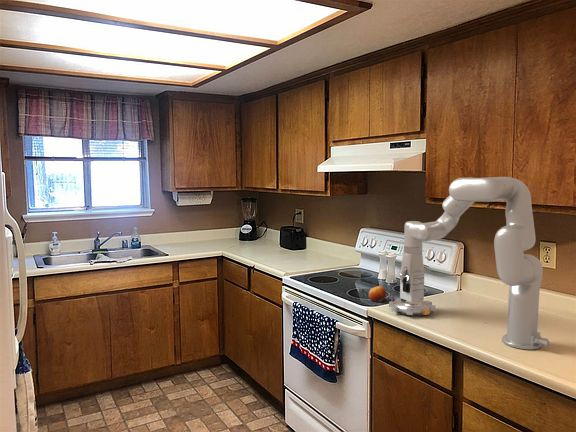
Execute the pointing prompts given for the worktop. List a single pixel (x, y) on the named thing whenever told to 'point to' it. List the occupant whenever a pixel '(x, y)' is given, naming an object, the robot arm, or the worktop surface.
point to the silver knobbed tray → (412, 306)
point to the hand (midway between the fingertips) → (412, 290)
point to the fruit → (377, 294)
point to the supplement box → (414, 287)
